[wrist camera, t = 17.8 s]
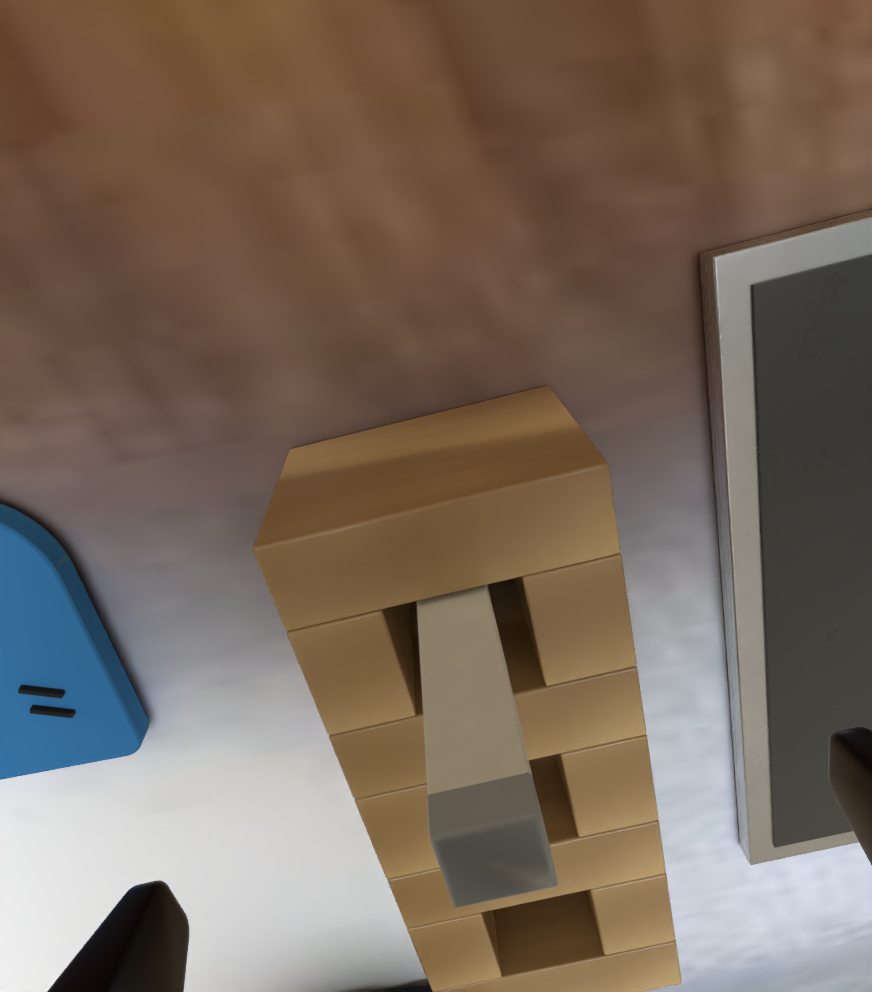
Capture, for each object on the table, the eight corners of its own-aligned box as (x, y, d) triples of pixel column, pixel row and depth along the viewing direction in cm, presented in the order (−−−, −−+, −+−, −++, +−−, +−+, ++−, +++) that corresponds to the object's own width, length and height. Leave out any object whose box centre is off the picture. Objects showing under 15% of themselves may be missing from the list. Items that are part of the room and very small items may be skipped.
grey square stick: (475, 531, 18) (558, 887, 9) (422, 543, 18) (454, 910, 9) (463, 483, 17) (541, 814, 8) (409, 496, 18) (428, 838, 8)
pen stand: (625, 826, 23) (682, 984, 19) (437, 867, 23) (448, 1032, 19) (549, 384, 17) (609, 462, 12) (288, 448, 17) (250, 548, 12)
